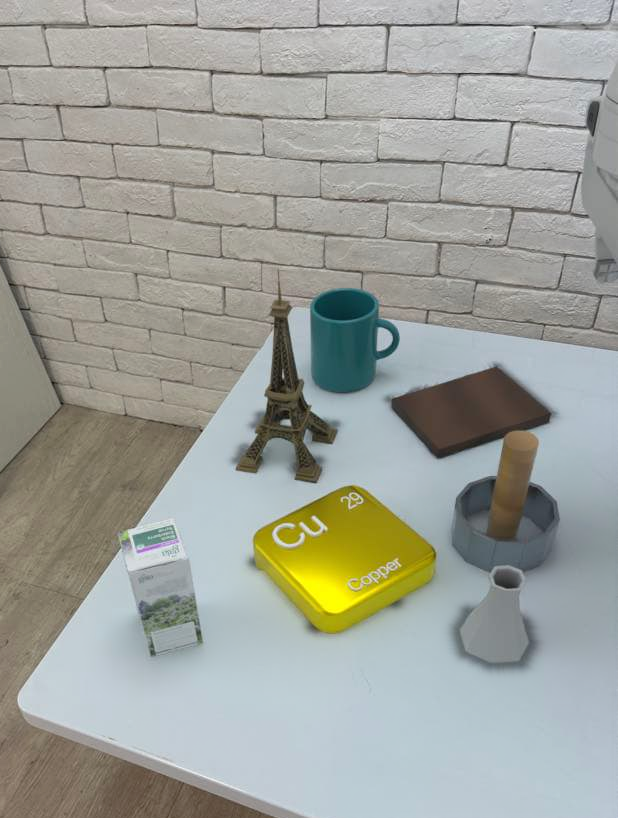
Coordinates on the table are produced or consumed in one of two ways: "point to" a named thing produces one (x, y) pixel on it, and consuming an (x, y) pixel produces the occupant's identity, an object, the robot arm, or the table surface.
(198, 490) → the table surface
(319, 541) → the element tile
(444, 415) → the board
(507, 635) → the flask
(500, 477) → the stick
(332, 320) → the cup
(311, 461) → the eiffel tower
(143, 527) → the syrup box
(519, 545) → the ring
